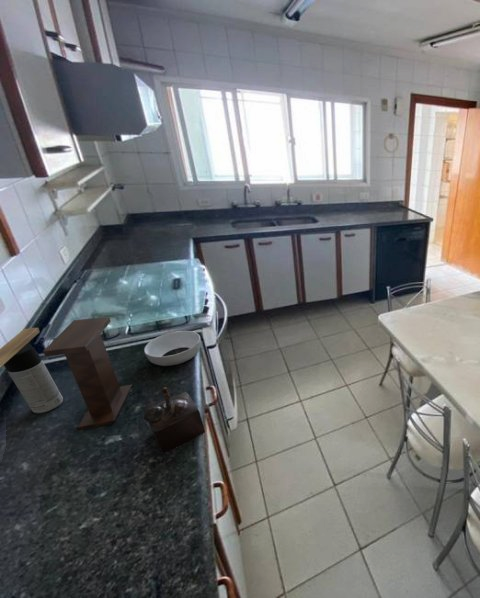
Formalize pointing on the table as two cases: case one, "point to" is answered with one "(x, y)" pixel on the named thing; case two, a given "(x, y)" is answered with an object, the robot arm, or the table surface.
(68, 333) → the walnut stand
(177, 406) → the dark brown boxy piece
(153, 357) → the cereal bowl
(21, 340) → the wooden plank
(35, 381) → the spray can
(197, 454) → the table surface
